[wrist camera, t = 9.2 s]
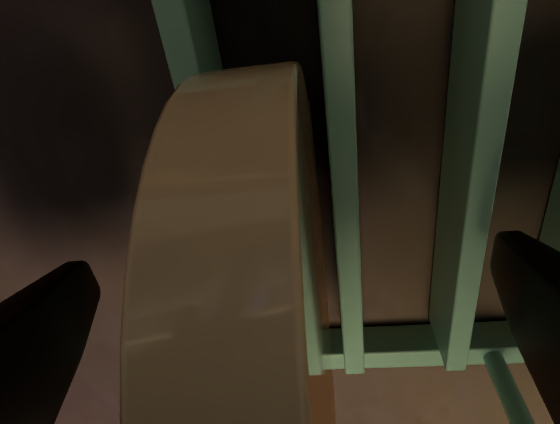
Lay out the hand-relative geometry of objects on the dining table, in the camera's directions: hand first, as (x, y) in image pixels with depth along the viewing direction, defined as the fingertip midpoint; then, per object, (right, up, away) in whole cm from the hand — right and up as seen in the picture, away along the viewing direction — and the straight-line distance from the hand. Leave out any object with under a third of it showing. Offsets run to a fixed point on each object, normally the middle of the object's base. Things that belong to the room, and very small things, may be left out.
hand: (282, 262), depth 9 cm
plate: (0, +2, +3) cm, 3 cm away
